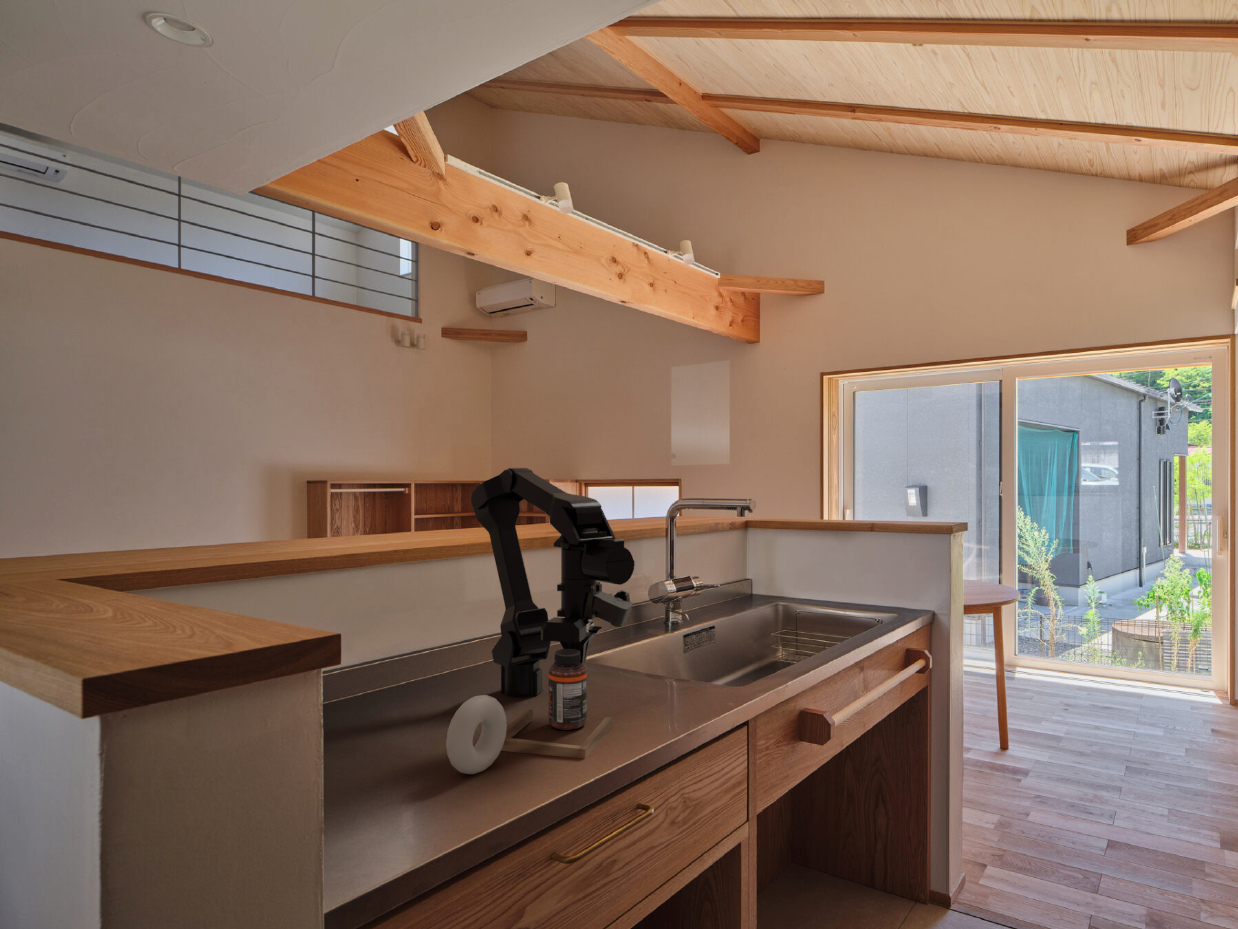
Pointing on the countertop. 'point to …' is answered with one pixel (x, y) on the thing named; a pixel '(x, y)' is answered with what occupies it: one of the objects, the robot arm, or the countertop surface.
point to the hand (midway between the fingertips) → (579, 673)
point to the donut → (463, 730)
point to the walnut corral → (548, 747)
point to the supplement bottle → (567, 691)
